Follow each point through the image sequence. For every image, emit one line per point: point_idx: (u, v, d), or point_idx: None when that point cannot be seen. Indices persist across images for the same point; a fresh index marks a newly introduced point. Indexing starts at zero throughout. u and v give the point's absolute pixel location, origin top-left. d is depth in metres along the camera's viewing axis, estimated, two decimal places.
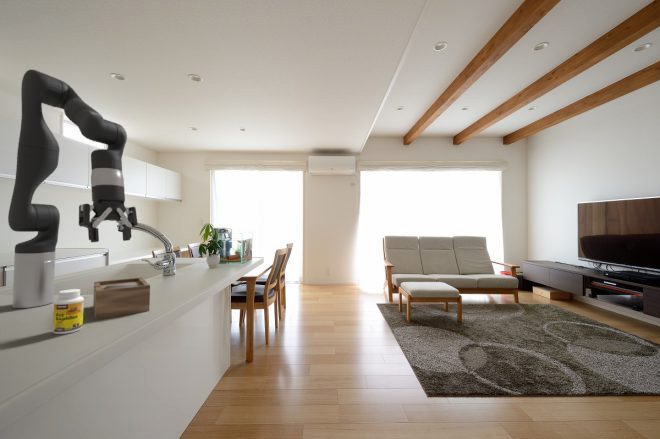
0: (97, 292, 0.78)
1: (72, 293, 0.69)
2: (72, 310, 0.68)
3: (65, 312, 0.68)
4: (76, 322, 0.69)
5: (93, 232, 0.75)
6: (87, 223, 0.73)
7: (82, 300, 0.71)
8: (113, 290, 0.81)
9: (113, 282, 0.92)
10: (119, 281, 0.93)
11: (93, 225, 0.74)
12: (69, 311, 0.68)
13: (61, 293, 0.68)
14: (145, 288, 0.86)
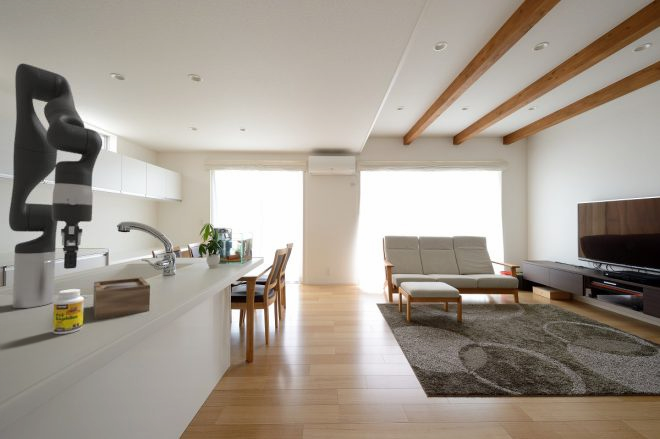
0: (97, 292, 0.78)
1: (72, 293, 0.69)
2: (72, 310, 0.68)
3: (65, 312, 0.68)
4: (76, 322, 0.69)
5: None
6: (78, 248, 0.66)
7: (82, 300, 0.71)
8: (113, 290, 0.81)
9: (113, 282, 0.92)
10: (119, 281, 0.93)
11: (77, 250, 0.67)
12: (69, 311, 0.68)
13: (61, 293, 0.68)
14: (145, 288, 0.86)
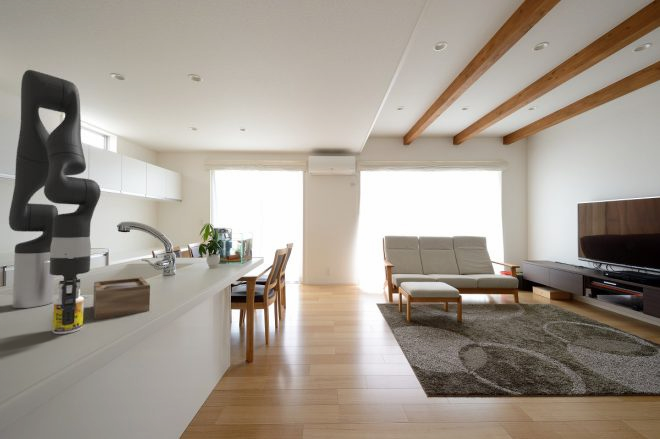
0: (97, 292, 0.78)
1: None
2: None
3: None
4: (76, 322, 0.69)
5: (72, 313, 0.68)
6: (75, 305, 0.67)
7: (82, 300, 0.71)
8: (113, 290, 0.81)
9: (113, 282, 0.92)
10: (119, 281, 0.93)
11: (75, 306, 0.68)
12: None
13: None
14: (145, 288, 0.86)
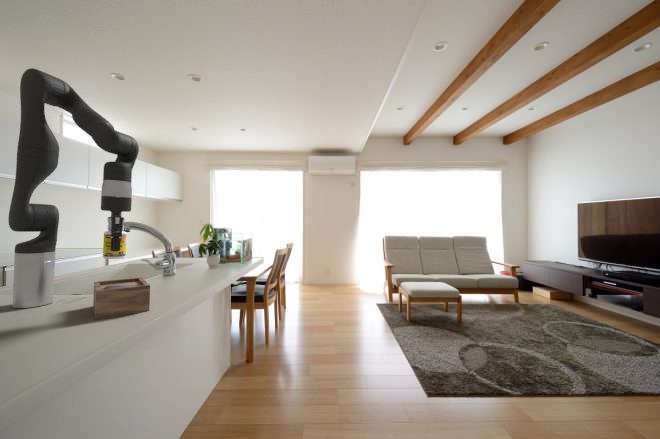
0: (97, 292, 0.78)
1: None
2: None
3: None
4: (121, 251, 0.85)
5: (118, 242, 0.83)
6: (121, 235, 0.82)
7: (125, 234, 0.86)
8: (113, 290, 0.81)
9: (113, 282, 0.92)
10: (119, 281, 0.93)
11: None
12: None
13: None
14: (145, 288, 0.86)
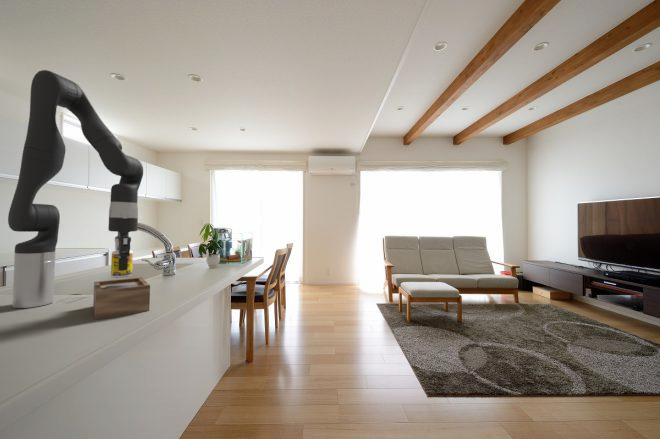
0: (97, 292, 0.78)
1: None
2: None
3: None
4: (128, 269, 0.88)
5: (126, 262, 0.86)
6: (129, 254, 0.85)
7: (132, 253, 0.89)
8: (113, 290, 0.81)
9: (113, 282, 0.92)
10: (119, 281, 0.93)
11: (128, 256, 0.86)
12: None
13: None
14: (145, 288, 0.86)
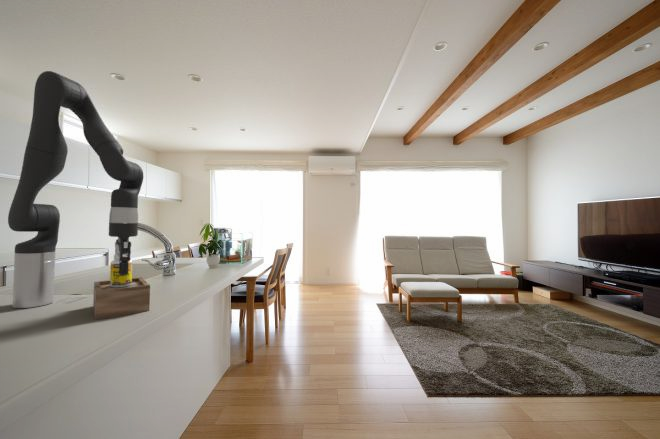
0: (97, 292, 0.78)
1: None
2: None
3: None
4: (128, 279, 0.88)
5: (126, 266, 0.86)
6: (130, 258, 0.85)
7: (131, 262, 0.89)
8: (113, 290, 0.81)
9: None
10: None
11: None
12: None
13: (116, 255, 0.86)
14: (145, 288, 0.86)
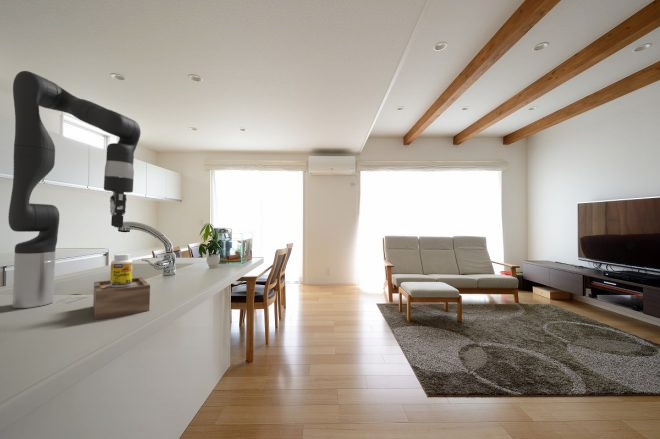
0: (97, 292, 0.78)
1: (125, 255, 0.88)
2: (125, 269, 0.87)
3: (120, 270, 0.86)
4: (128, 279, 0.88)
5: (121, 219, 0.86)
6: (125, 211, 0.85)
7: (131, 262, 0.89)
8: (113, 290, 0.81)
9: None
10: None
11: (124, 213, 0.86)
12: (123, 269, 0.87)
13: (116, 255, 0.87)
14: (145, 288, 0.86)
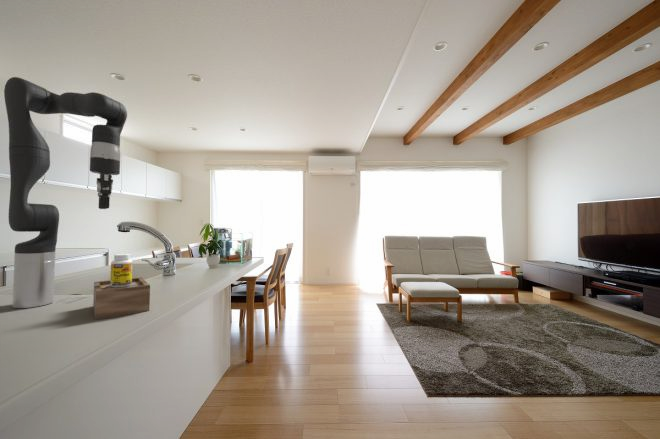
0: (97, 292, 0.78)
1: (125, 255, 0.87)
2: (125, 269, 0.87)
3: (120, 270, 0.86)
4: (128, 279, 0.88)
5: (107, 200, 0.85)
6: None
7: (131, 262, 0.89)
8: (113, 290, 0.81)
9: None
10: None
11: (110, 194, 0.86)
12: (123, 269, 0.86)
13: (116, 255, 0.86)
14: (145, 288, 0.86)
